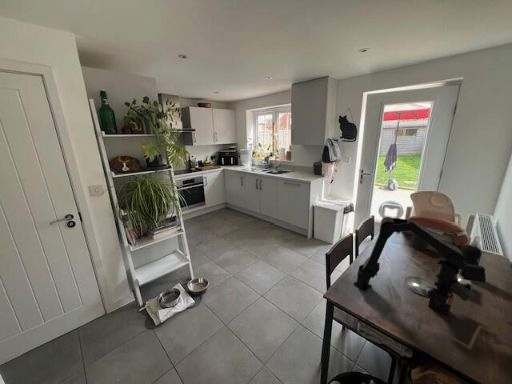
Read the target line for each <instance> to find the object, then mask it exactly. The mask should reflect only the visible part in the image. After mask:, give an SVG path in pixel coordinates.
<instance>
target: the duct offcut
mask: <svg viewBox="0 0 512 384" xmlns="http://www.w3.org/2000/svg"><path fill="white" fill-rule="evenodd" d="M457 279H458V281H459V283H460V284H461V283H462V284H466V283H468V284H470V285H471V286H472V281H469V280H465V279H463V278H462V276H460V275H459V274H457Z"/></svg>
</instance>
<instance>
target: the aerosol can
mask: <svg viewBox="0 0 512 384" xmlns="http://www.w3.org/2000/svg"><path fill="white" fill-rule="evenodd" d="M460 248H461V249H460V252H461V253H462V255H463V257H464V261H465V263H467V264H471V265H476V266H480V261H481V258H482V254H483V251H482V250H481V248H479V247H478V246H477V242H475V241H471V242H470V244H465V245H464V244H463V245H462V246H460ZM458 274H459V270H458Z"/></svg>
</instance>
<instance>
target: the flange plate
mask: <svg viewBox="0 0 512 384" xmlns="http://www.w3.org/2000/svg"><path fill="white" fill-rule="evenodd" d="M434 284H435V283H432V282H431V281H429V280H427V279H425V278H421V277H418V276H407V277H405V279H404V285H405V287H406V288H408V290H410V291H411V292H413V293H415V294H417V295H420V296H423V297H426V298H430V297H429V296H428V295H427V293H428V291H429V290H430V288H434V287H437V286H435V285H434Z"/></svg>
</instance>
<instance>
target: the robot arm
mask: <svg viewBox="0 0 512 384" xmlns="http://www.w3.org/2000/svg"><path fill="white" fill-rule="evenodd" d="M401 232H402V233H403V232H411V233H412V234H413V233H414V234H416V235H417V236H418V237H420V238H421V239H422V240H424V241H425V242H427V243H428V246H431V247H432V248H434V249H435V250H436V251H437V253H438V254H439V255H440V256H441V257H437V258H435V259H434V261H435V263H436V265H439V268H438V273H437V274H436V281H434V283H433V284H434V285H435V286H436V287H437V288H430V290H429V291H428V293H427V295H428V296H429V297H428V298H430V297H431V298H433V299H434V302H435V304H436V306H437V307H440V306H441V304H442V303H443V304H446V303H447V302H448V300H449V299H450V298H449V296H448V294H447V293H448V292H450V293H452V294H454V295H456V296H458V297H459V298H460V299H461V300H462V301H464V302H467V301H468V300H470V299H471V298H472V297H473V295H474V290H473V285H472V284H471V285H470V284H468V283H466V284H462V283H461V284H460V283H459V281H458V279H457V274H458V270H459V275H460V276H462V278H463V279H465V280H469V281H471V282H474V283H477V284H485V283H486V281H487V279H486V269H485V267H484V266H482V265H478V266H476V265H471V264H467V263H465V261H464V257H463V255H462V253H461V249H459V248H458V246H455V245H453V244H452V243H450V242H447V241H443V240H442V239H440V238H439V237H437V236H436V235H435V234H433V233H432V232H430V231H429V230H427V229H426V228H425V227H423V226H422V225H420V224H419V223H417V222H416V221H415V220H414V219H410V218H408V219H404V218H399V217H398V218H397V217H390V216H386V217H383V218H382V219H381V220H380V226H379V233H378V236H377V238H376V240H375V243H374V245H373V248H372V250H371V252H370V255H369V257H368V258H366V259H365V261H364V262H363V264H361V265H359V266H358V268H357V269H358V270H357V274H356V275H357V277H356V278H357V279H356V281H355V282H353V285H354V286H355V287H357V288H358V289H360V290H362V291H364V292H367V291H368V290H369V289H371V288H372V284H370V280H371V279H373V278H375V277H377V276H378V272H379V271H380V266H381V265H380V264H381V263H380V262H379V259H380V257H381V256H382V253H383V251H384V249H385V247H386V244H387V241H388V240H389V238H390V237H392V236H393V234H394V233H401Z"/></svg>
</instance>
